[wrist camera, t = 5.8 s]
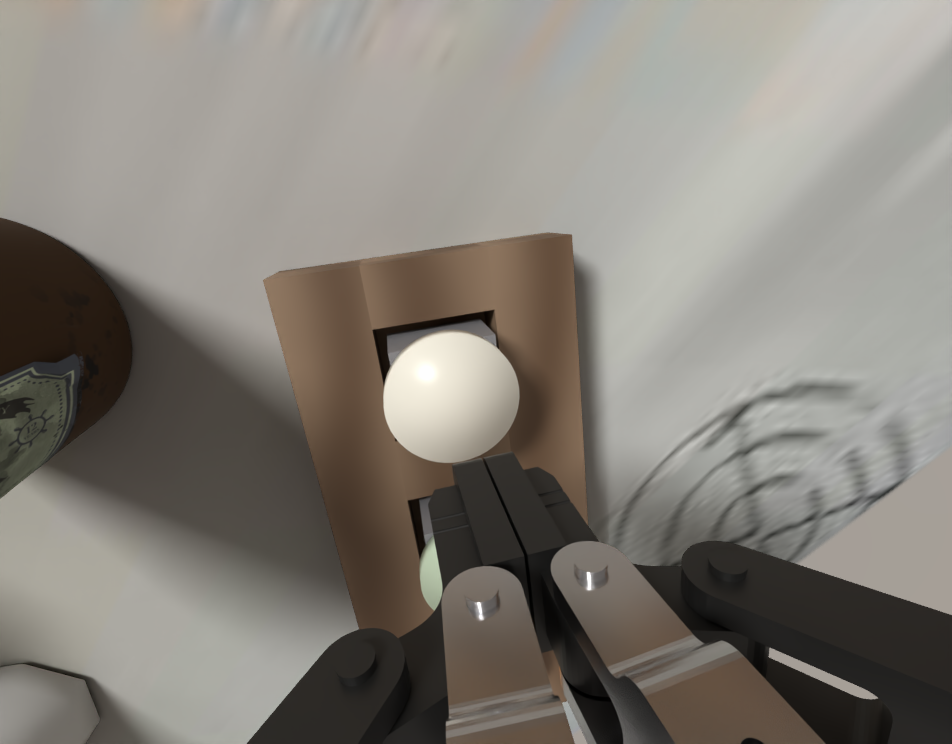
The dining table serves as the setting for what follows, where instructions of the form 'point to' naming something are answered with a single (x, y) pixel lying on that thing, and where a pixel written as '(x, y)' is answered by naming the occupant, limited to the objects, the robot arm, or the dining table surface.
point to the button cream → (449, 391)
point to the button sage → (429, 560)
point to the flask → (44, 707)
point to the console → (362, 386)
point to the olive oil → (53, 349)
